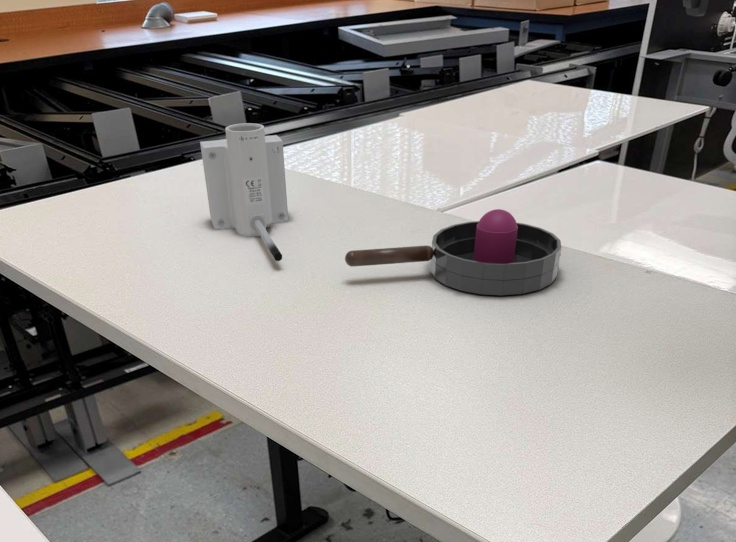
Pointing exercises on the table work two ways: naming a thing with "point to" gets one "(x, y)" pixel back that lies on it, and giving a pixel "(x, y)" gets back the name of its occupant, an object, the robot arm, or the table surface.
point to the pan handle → (389, 256)
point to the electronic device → (246, 181)
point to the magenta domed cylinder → (496, 237)
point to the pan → (525, 275)
